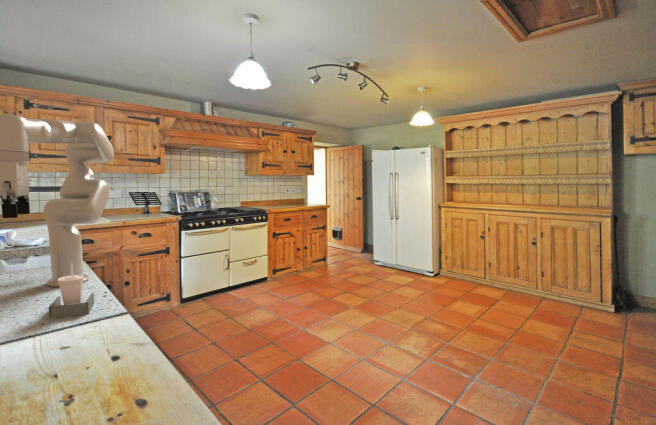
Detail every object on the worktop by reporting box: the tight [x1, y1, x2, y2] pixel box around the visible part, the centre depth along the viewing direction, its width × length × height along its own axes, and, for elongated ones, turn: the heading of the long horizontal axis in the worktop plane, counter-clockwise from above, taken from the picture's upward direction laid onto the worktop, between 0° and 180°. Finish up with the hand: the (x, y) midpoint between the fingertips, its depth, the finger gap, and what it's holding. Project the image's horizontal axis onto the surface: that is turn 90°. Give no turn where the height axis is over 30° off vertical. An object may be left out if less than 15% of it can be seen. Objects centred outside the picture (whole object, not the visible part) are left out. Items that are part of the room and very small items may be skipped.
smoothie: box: [57, 264, 84, 305], centre depth 101 cm, size 6×6×14 cm
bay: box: [48, 292, 95, 320], centre depth 102 cm, size 9×9×4 cm
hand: (17, 215), depth 101 cm, fingers open, 9 cm apart
